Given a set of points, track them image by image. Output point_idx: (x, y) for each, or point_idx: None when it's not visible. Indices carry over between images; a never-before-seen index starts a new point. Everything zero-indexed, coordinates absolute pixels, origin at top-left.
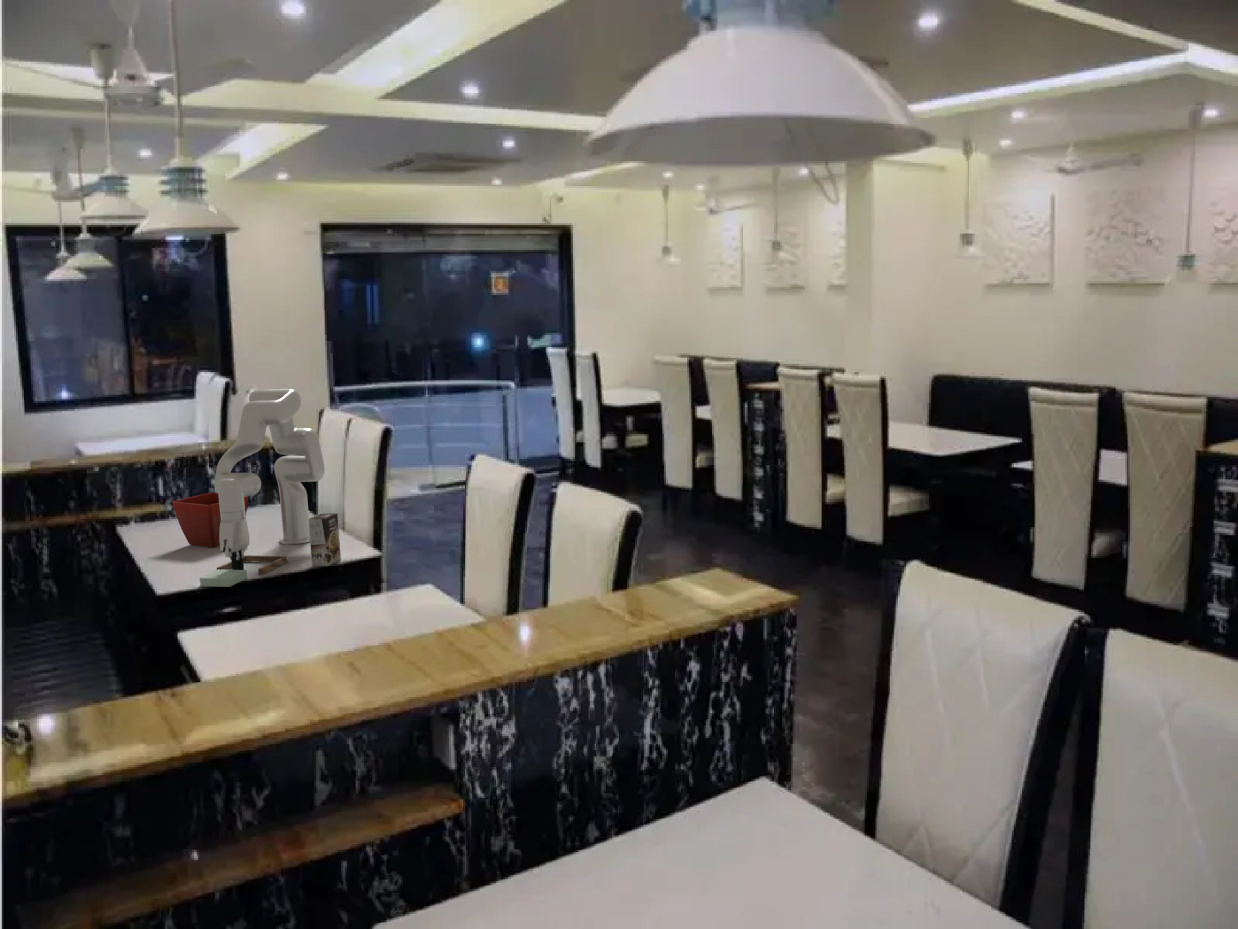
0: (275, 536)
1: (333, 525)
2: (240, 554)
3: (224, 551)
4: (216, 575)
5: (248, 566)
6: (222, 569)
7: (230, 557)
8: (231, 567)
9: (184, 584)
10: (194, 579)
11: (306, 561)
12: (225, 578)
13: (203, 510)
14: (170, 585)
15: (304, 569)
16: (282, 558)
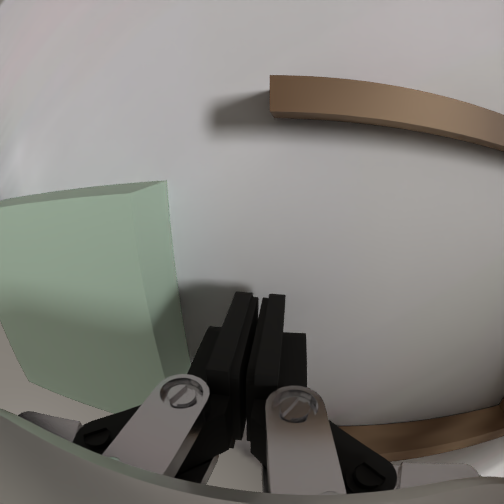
0: None
1: None
2: (262, 482)
3: (23, 432)
4: (20, 291)
5: (498, 258)
6: (327, 117)
7: (120, 418)
8: (462, 139)
9: (13, 76)
10: (96, 32)
11: (479, 456)
12: (22, 365)
13: None
14: (8, 24)
15: None
16: (483, 441)
